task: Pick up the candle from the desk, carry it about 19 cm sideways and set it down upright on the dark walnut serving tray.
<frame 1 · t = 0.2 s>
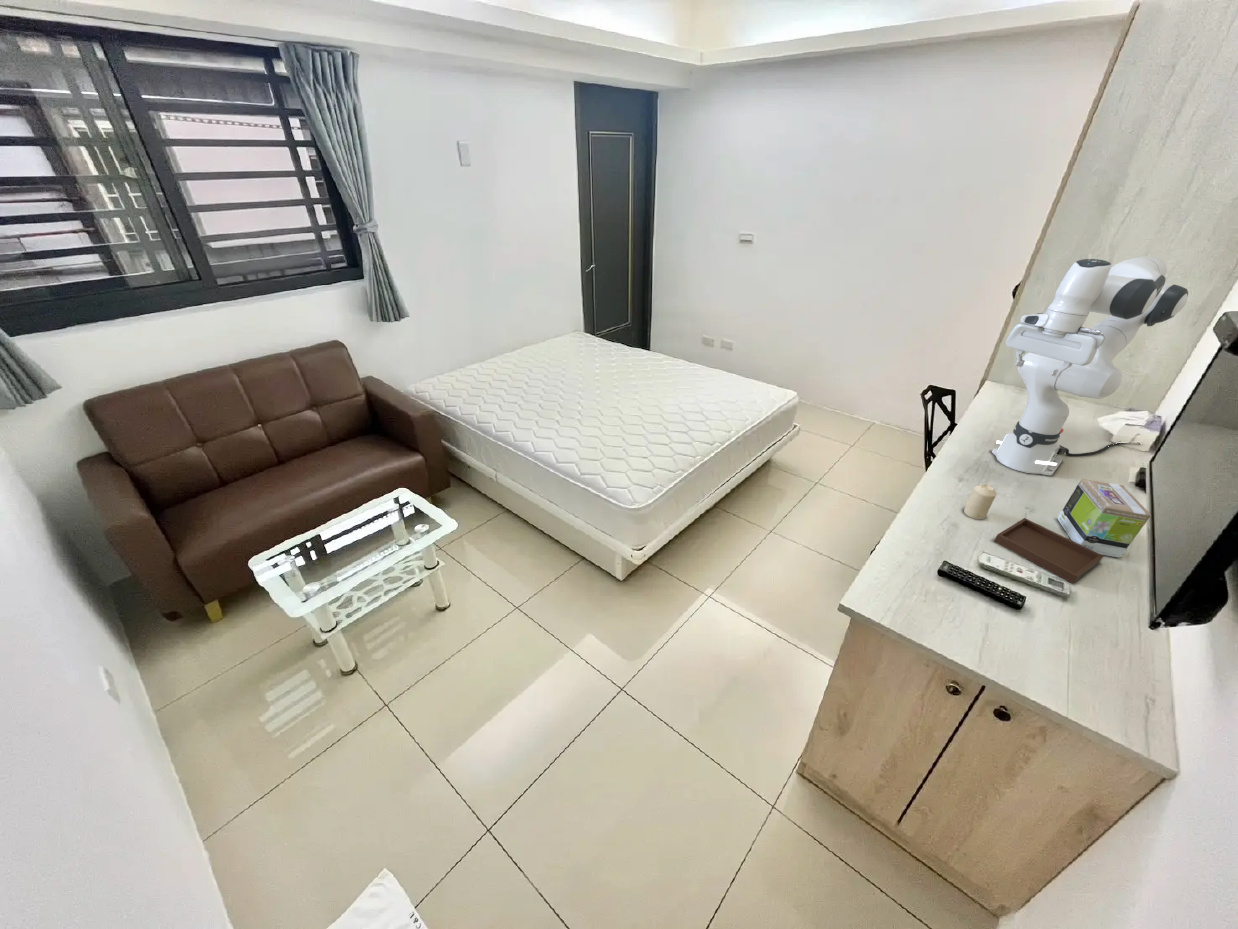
hand: (1036, 371, 139), 39 cm above the table, tool pointing down, fingers open, 8 cm apart
tray: (1044, 552, 131), on the table
candle: (974, 514, 146), on the table
tea box: (1086, 538, 136), on the table
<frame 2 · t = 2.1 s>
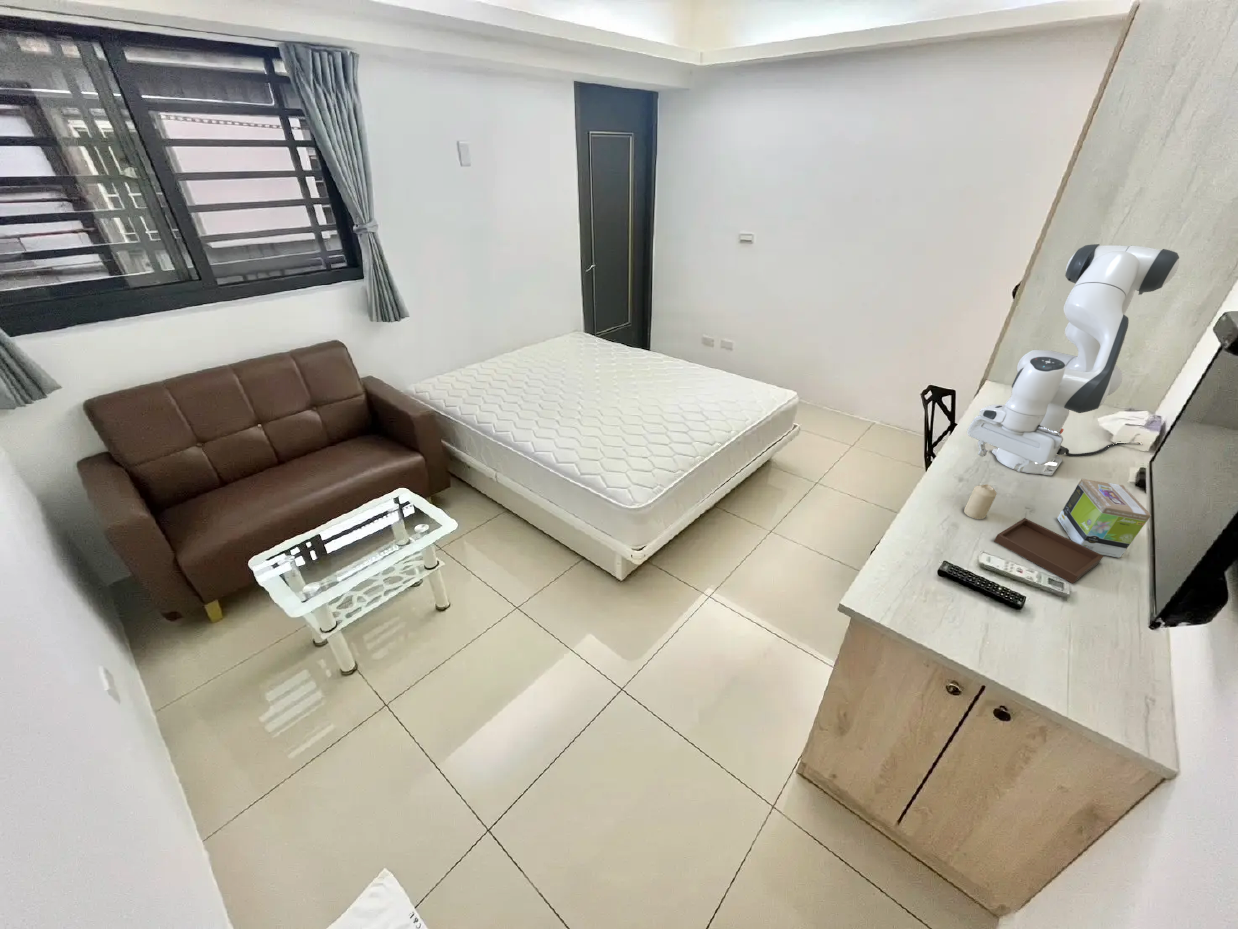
hand: (998, 462, 136), 18 cm above the table, tool pointing down, fingers open, 8 cm apart
nothing on the table moved.
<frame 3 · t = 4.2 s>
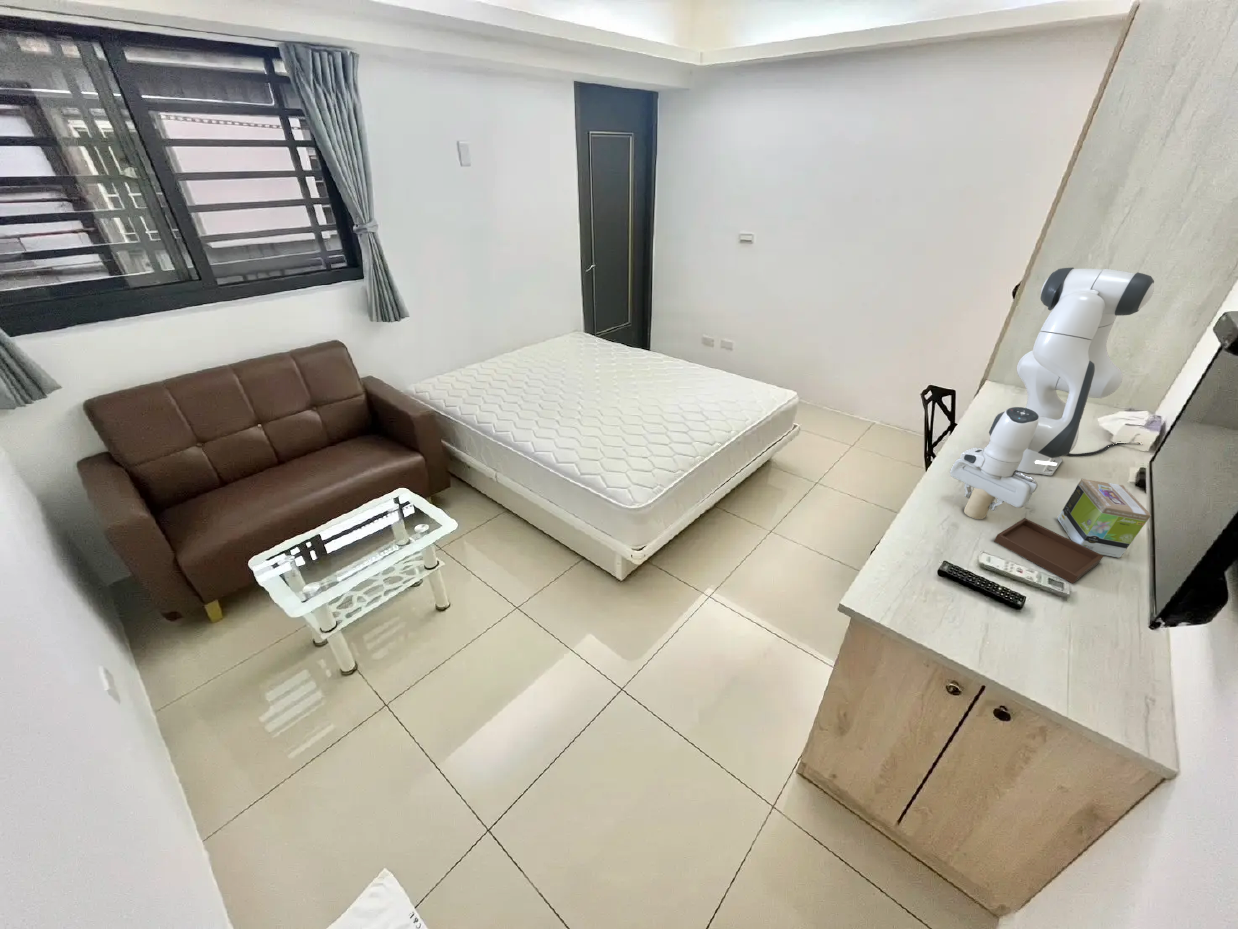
hand: (979, 502, 144), 4 cm above the table, tool pointing down, fingers closed on candle, 5 cm apart
candle: (974, 514, 146), on the table, touching gripper
everything else where it was.
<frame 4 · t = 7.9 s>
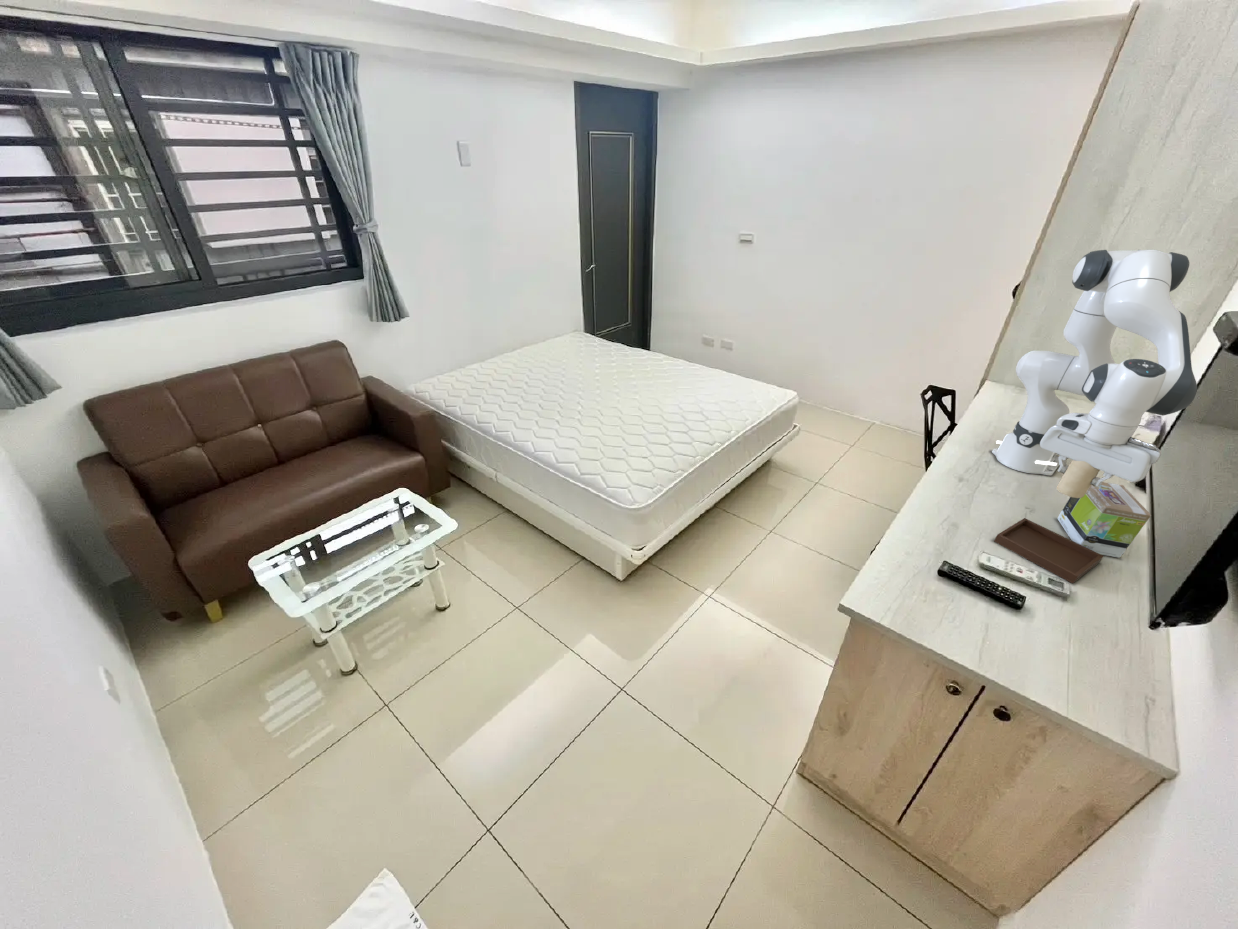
hand: (1077, 478, 121), 23 cm above the table, tool pointing down, fingers closed on candle, 5 cm apart
candle: (1069, 492, 123), point 19 cm above the table, touching gripper
everything else where it was.
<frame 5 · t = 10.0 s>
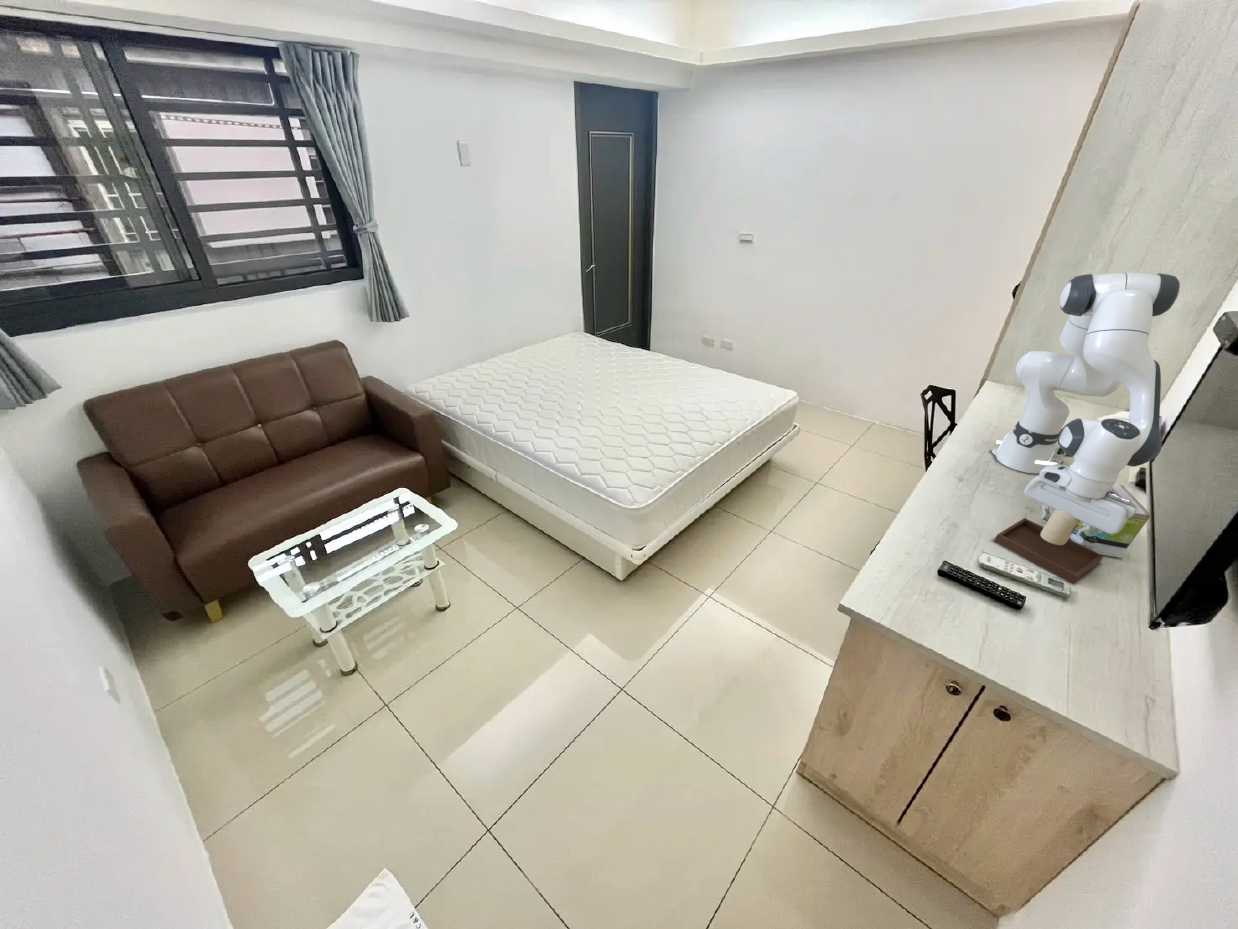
hand: (1059, 526, 127), 9 cm above the table, tool pointing down, fingers closed on candle, 5 cm apart
candle: (1052, 539, 129), point 5 cm above the table, touching gripper
everything else where it was.
when the fingers open (5 cm above the table, at t = 11.7 s): candle stays where it is, resting on tray.
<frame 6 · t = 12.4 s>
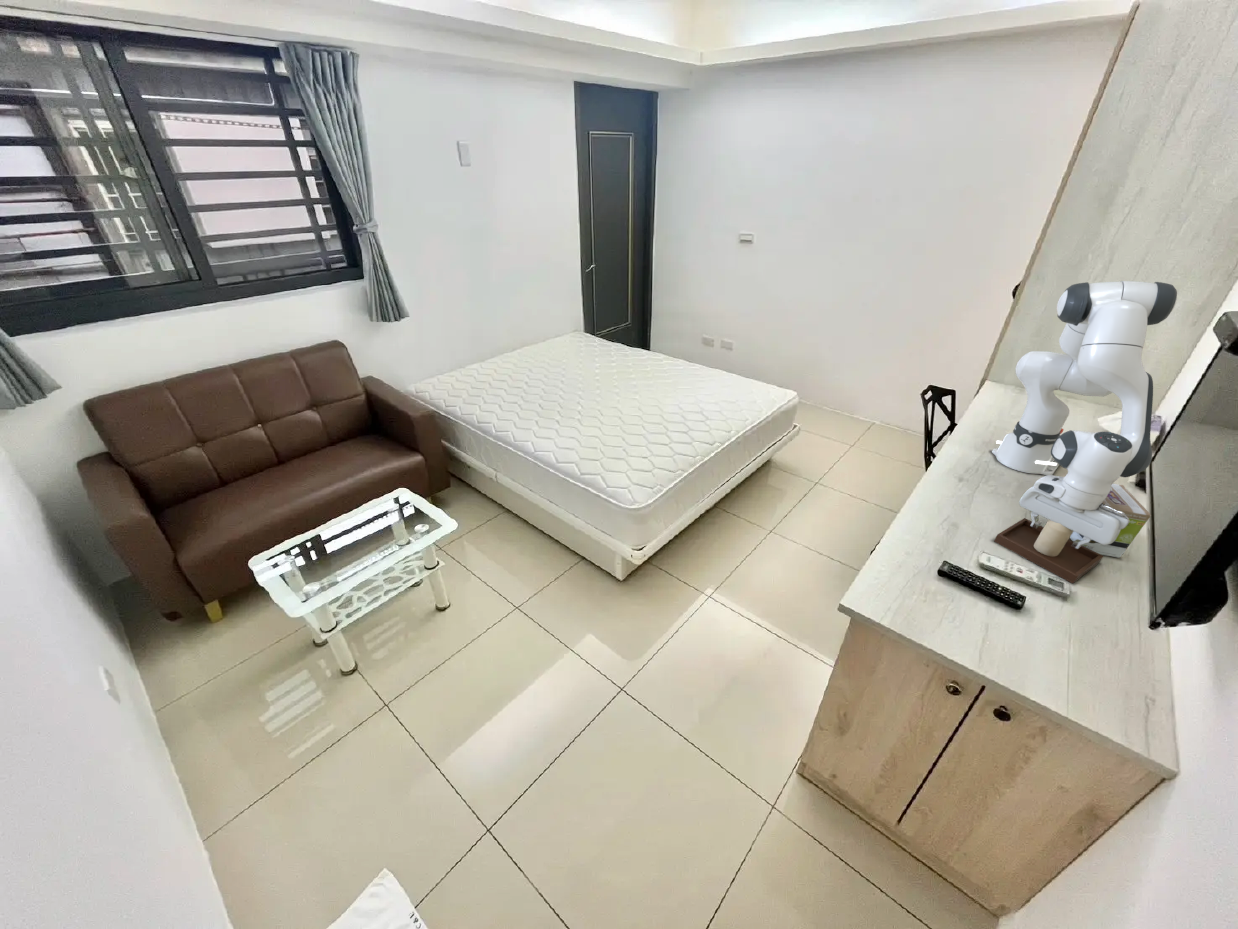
hand: (1054, 536, 129), 5 cm above the table, tool pointing down, fingers open, 8 cm apart
candle: (1045, 550, 131), point 1 cm above the table, touching tray
everything else where it was.
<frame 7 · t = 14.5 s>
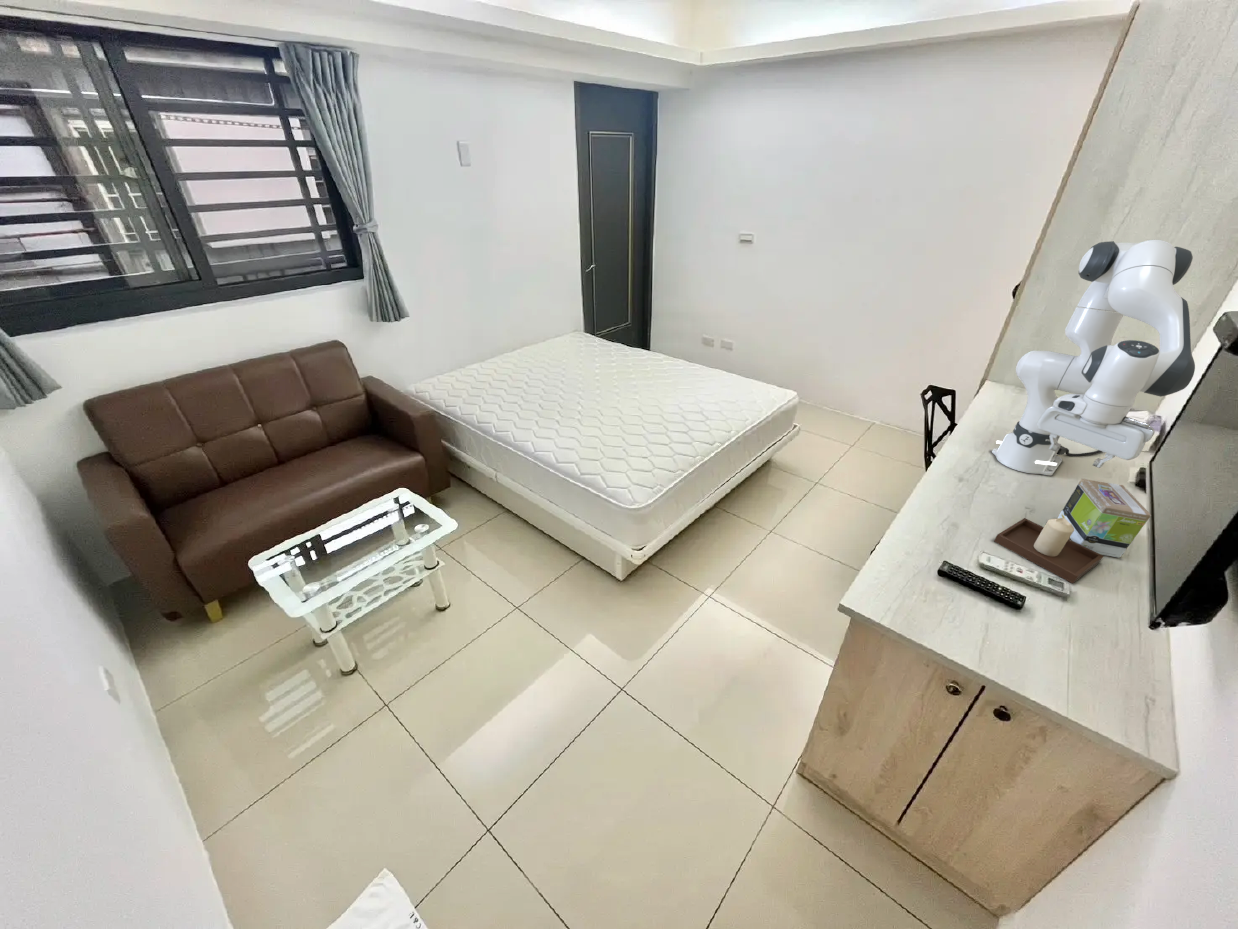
hand: (1074, 457, 124), 26 cm above the table, tool pointing down, fingers open, 8 cm apart
nothing on the table moved.
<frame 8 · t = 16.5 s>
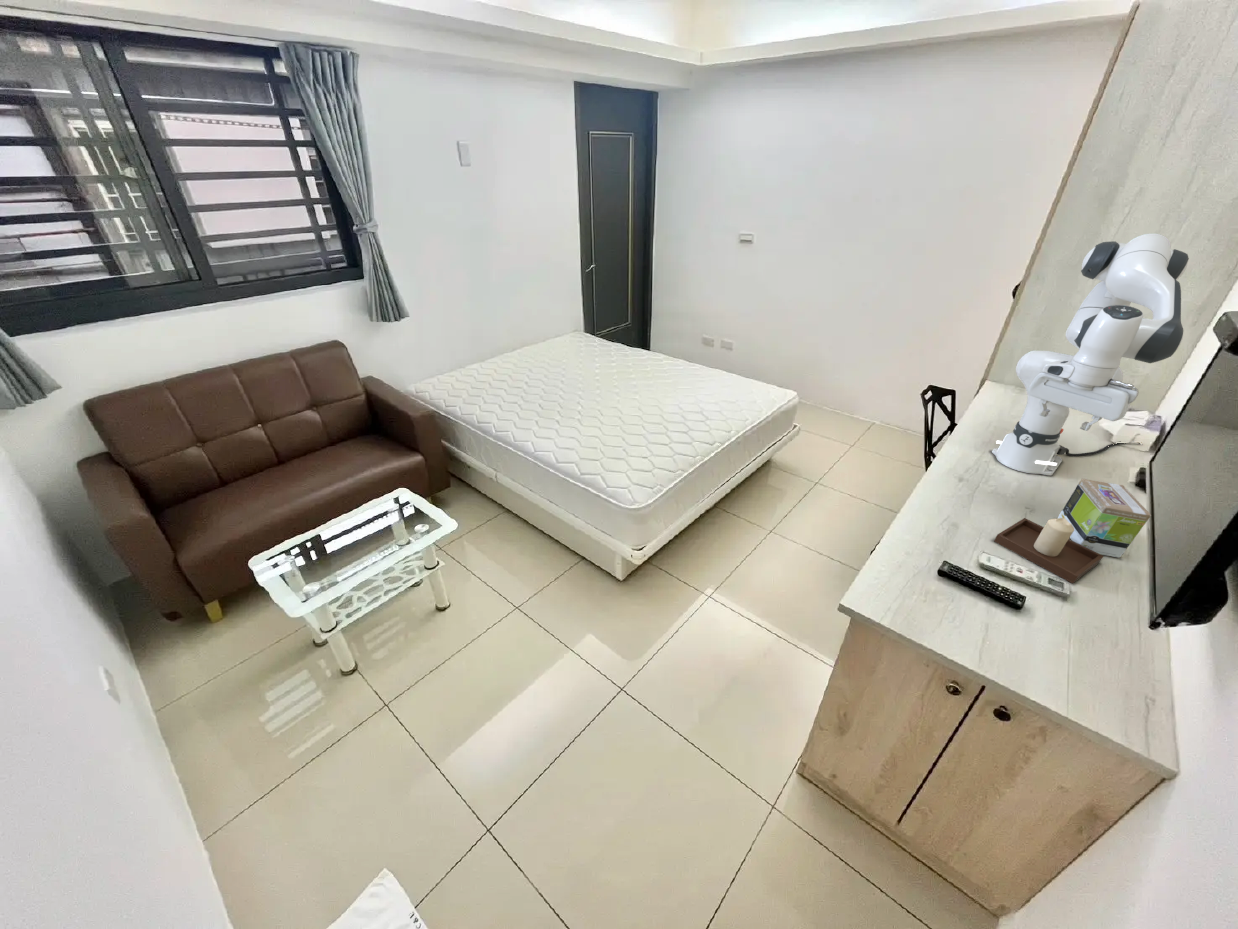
hand: (1062, 422, 129), 31 cm above the table, tool pointing down, fingers open, 8 cm apart
nothing on the table moved.
at the end: candle inside the target area in the tray (0.1 cm from its centre), point 0.6 cm above the tray's base; candle tilted 0°; the gripper is holding nothing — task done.
